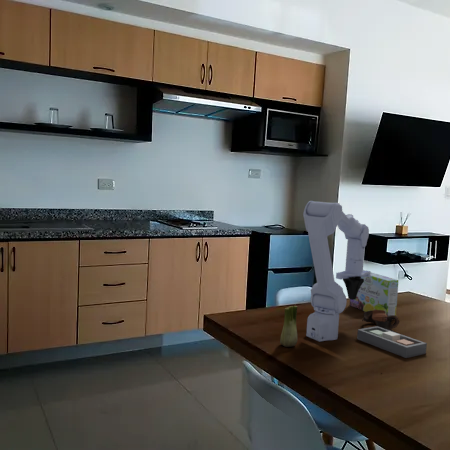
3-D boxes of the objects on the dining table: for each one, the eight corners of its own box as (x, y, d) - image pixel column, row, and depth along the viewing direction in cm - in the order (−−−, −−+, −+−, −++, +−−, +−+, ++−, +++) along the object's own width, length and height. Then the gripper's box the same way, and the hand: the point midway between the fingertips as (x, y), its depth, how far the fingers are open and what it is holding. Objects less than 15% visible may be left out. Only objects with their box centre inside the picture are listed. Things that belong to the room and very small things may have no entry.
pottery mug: (362, 334, 163) (359, 310, 166) (366, 340, 171) (363, 316, 174) (400, 330, 159) (396, 306, 162) (402, 336, 167) (398, 312, 170)
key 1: (377, 342, 149) (378, 334, 149) (368, 338, 152) (369, 331, 152) (385, 340, 151) (386, 333, 151) (376, 337, 154) (377, 329, 154)
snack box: (347, 305, 200) (350, 269, 198) (358, 305, 202) (361, 269, 201) (385, 320, 181) (388, 279, 179) (396, 319, 183) (400, 279, 182)
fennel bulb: (293, 342, 149) (295, 303, 148) (301, 348, 144) (304, 308, 143) (276, 343, 147) (278, 304, 146) (283, 349, 142) (286, 308, 141)
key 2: (405, 352, 141) (406, 344, 141) (395, 348, 144) (395, 340, 144) (413, 350, 143) (414, 342, 143) (403, 347, 146) (403, 339, 146)
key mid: (391, 343, 145) (392, 336, 145) (381, 340, 148) (382, 332, 148) (399, 342, 147) (400, 334, 147) (389, 338, 150) (390, 331, 150)
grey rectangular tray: (405, 361, 138) (406, 347, 137) (356, 342, 153) (357, 329, 152) (425, 356, 142) (426, 343, 142) (376, 338, 158) (377, 326, 157)
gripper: (348, 261, 157) (345, 303, 158) (379, 260, 165) (375, 299, 166) (332, 258, 163) (329, 298, 164) (362, 256, 171) (359, 295, 172)
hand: (351, 298), depth 166 cm, fingers closed
